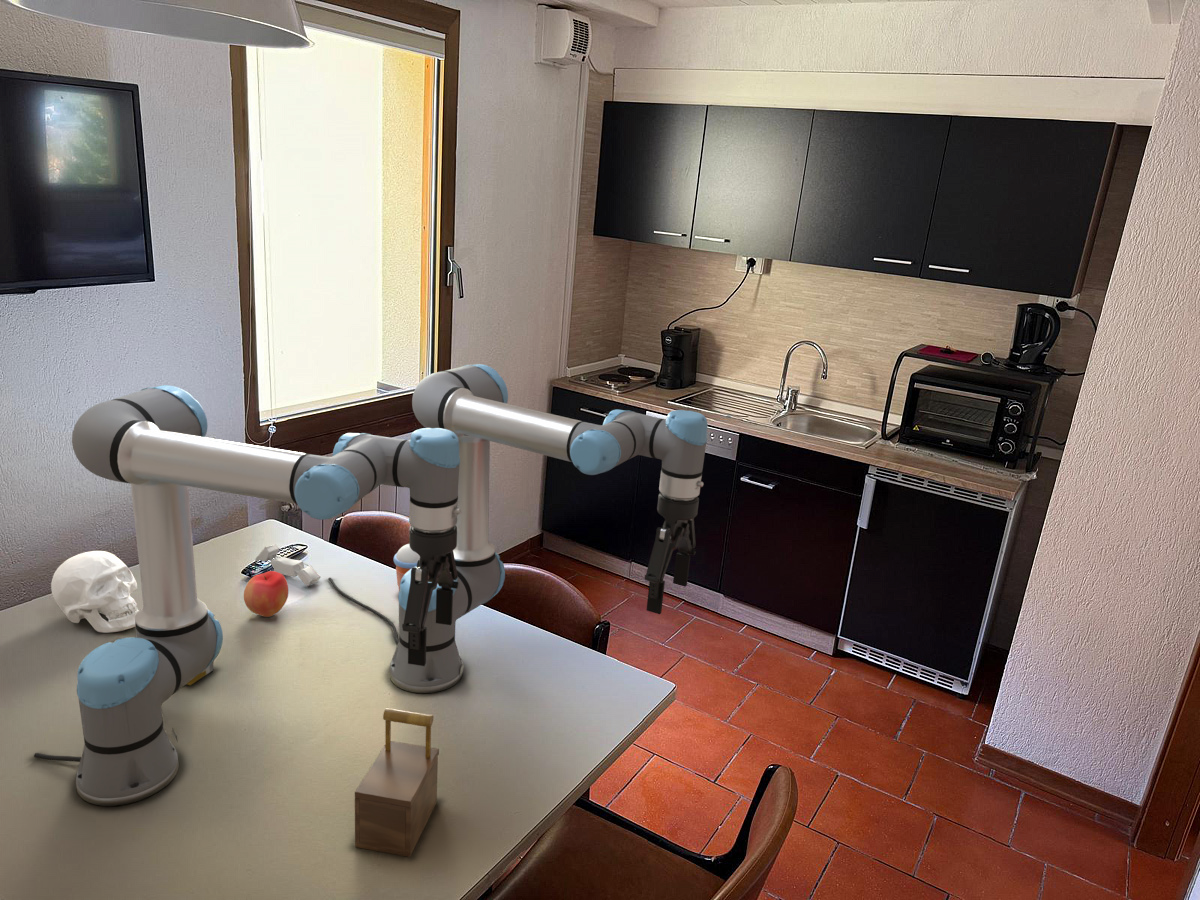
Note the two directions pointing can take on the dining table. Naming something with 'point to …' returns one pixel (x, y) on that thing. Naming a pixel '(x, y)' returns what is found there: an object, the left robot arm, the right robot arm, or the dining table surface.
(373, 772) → the lid
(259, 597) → the apple
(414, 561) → the cup with straw
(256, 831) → the dining table surface
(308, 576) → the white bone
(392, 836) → the chest
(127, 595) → the skull
